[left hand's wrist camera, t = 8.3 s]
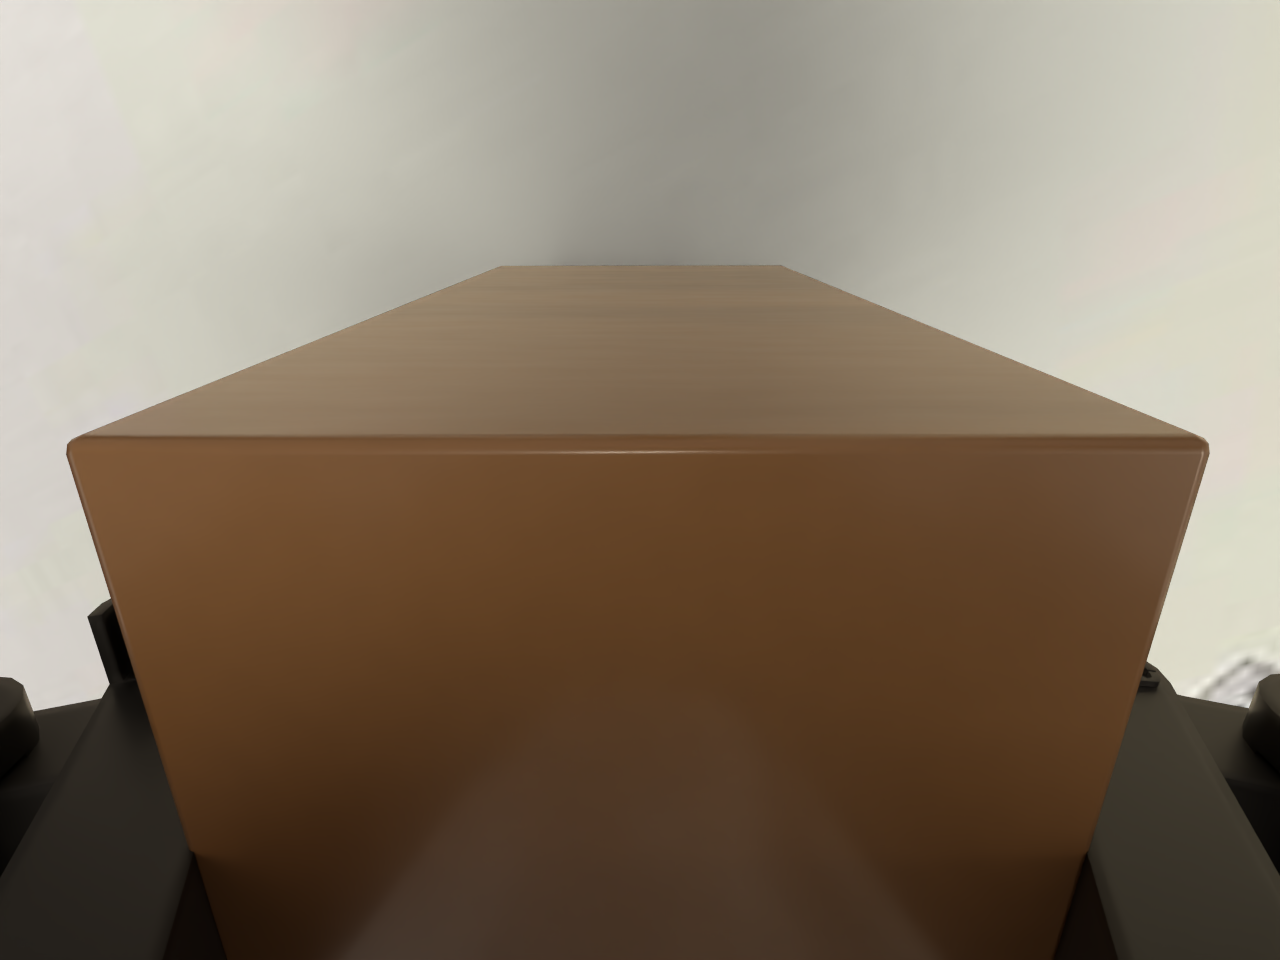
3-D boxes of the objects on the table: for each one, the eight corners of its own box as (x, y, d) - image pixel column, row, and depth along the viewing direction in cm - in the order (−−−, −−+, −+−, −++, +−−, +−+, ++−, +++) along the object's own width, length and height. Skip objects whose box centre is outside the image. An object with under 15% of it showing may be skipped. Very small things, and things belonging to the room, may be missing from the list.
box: (497, 266, 16) (51, 440, 4) (784, 265, 16) (1222, 438, 4) (550, 999, 25) (463, 1740, 13) (733, 999, 25) (820, 1742, 13)
